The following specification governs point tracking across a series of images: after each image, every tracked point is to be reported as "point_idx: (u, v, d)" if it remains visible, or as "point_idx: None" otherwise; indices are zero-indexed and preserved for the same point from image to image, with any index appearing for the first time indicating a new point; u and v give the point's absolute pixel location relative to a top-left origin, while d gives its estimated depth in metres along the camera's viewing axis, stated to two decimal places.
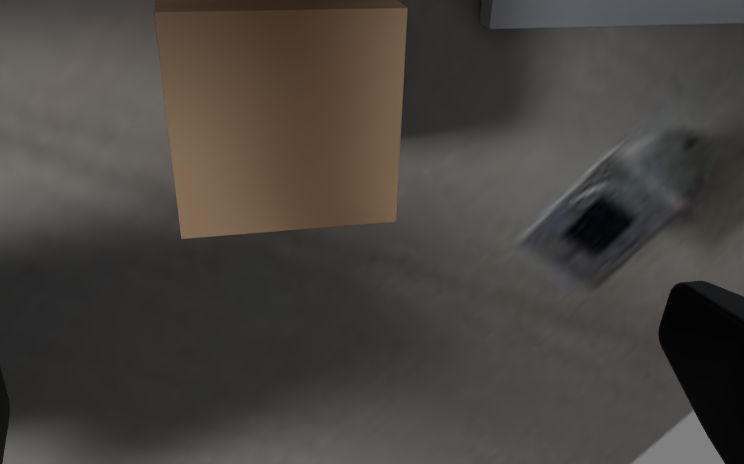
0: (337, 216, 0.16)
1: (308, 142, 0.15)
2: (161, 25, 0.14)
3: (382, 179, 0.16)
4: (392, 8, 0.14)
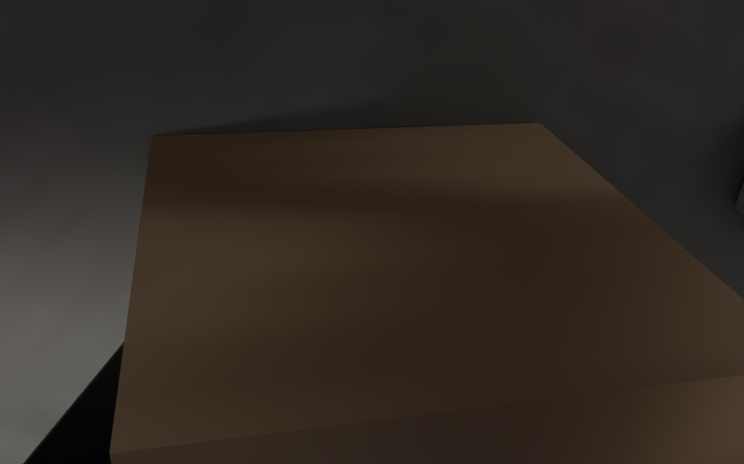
0: None
1: None
2: None
3: None
4: None
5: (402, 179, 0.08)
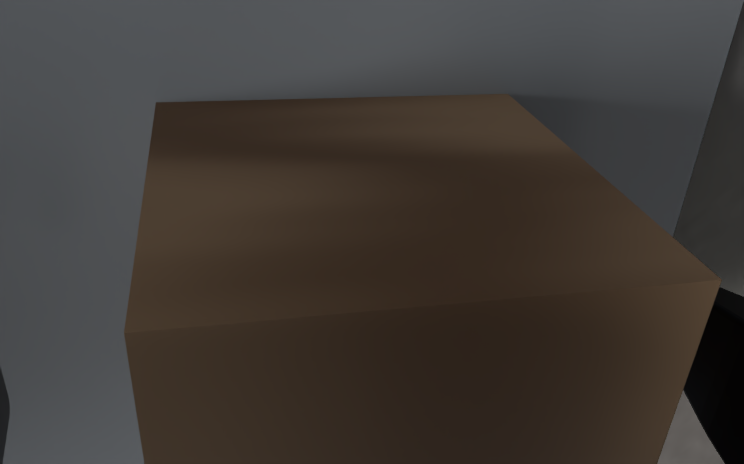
0: None
1: None
2: (143, 359, 0.05)
3: None
4: (688, 281, 0.06)
5: (378, 138, 0.09)
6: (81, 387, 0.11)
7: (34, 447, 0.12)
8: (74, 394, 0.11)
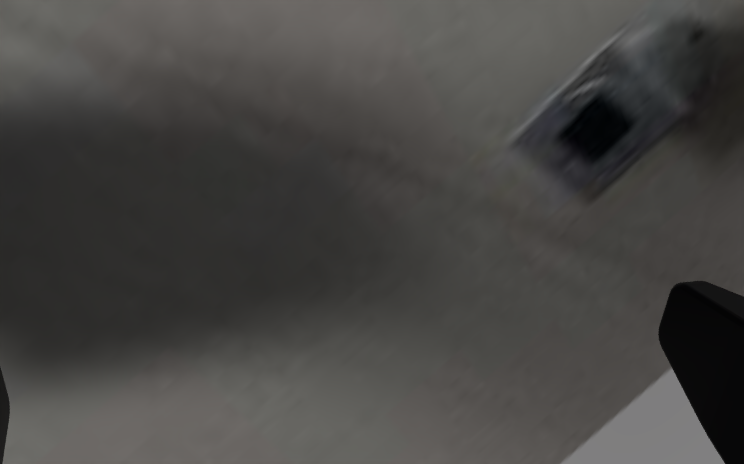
0: None
1: None
2: None
3: None
4: None
5: None
6: None
7: None
8: None
